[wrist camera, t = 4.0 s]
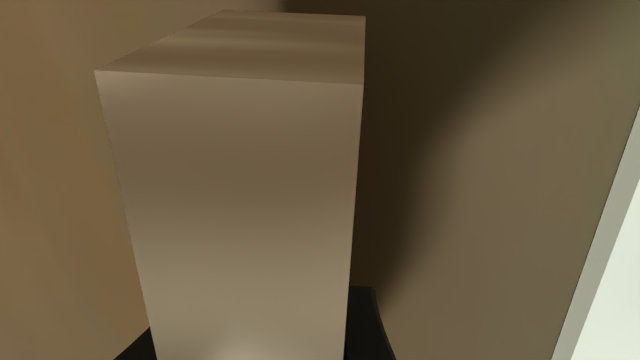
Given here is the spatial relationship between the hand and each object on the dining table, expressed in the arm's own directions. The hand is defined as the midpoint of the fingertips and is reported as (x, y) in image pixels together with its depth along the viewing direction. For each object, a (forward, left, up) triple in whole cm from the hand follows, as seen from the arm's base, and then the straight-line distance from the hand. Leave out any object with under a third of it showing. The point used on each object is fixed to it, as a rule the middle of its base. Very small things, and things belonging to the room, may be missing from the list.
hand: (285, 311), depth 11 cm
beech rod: (0, 0, -1) cm, 1 cm away
